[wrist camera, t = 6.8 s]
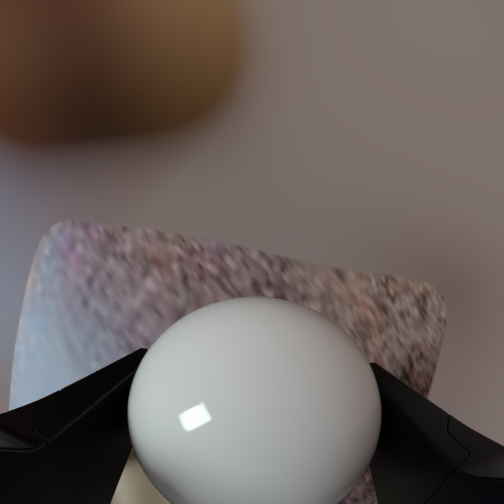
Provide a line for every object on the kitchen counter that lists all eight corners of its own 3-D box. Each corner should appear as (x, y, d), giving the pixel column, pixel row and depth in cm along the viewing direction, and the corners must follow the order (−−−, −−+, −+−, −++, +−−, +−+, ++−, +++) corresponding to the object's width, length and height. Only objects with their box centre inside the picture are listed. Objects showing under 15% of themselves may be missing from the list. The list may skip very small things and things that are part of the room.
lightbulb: (310, 472, 12) (409, 562, 3) (184, 460, 13) (68, 531, 3) (319, 356, 15) (423, 261, 6) (198, 346, 16) (116, 235, 6)
